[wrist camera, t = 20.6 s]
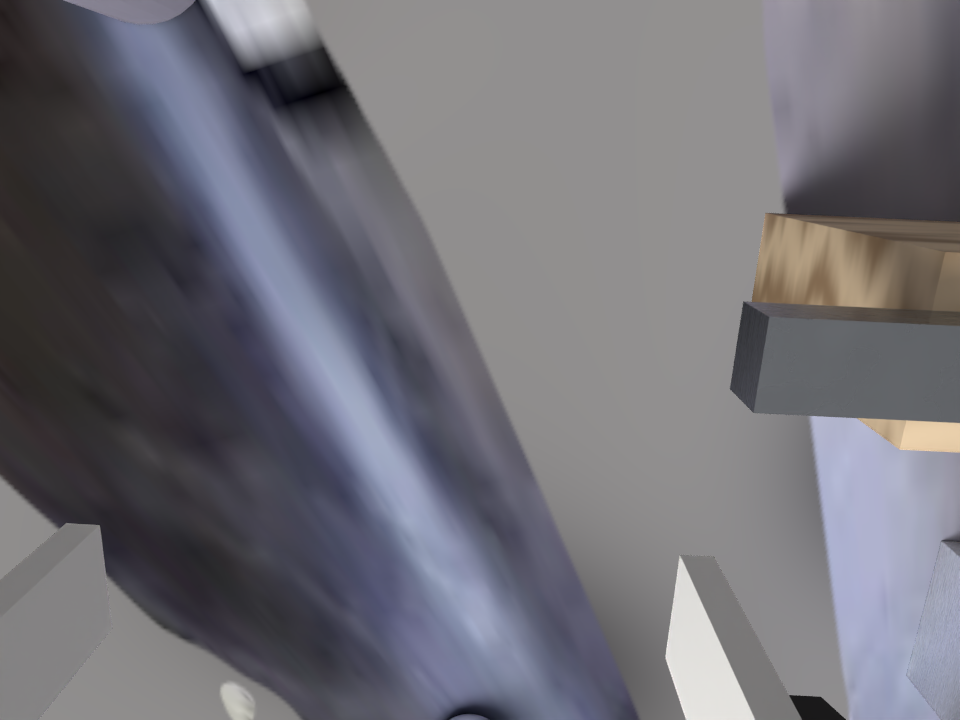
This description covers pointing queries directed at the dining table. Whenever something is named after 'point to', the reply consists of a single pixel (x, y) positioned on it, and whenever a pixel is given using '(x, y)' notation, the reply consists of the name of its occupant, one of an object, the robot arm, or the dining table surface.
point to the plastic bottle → (469, 717)
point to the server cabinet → (940, 637)
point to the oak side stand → (866, 282)
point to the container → (137, 9)
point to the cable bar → (848, 362)
